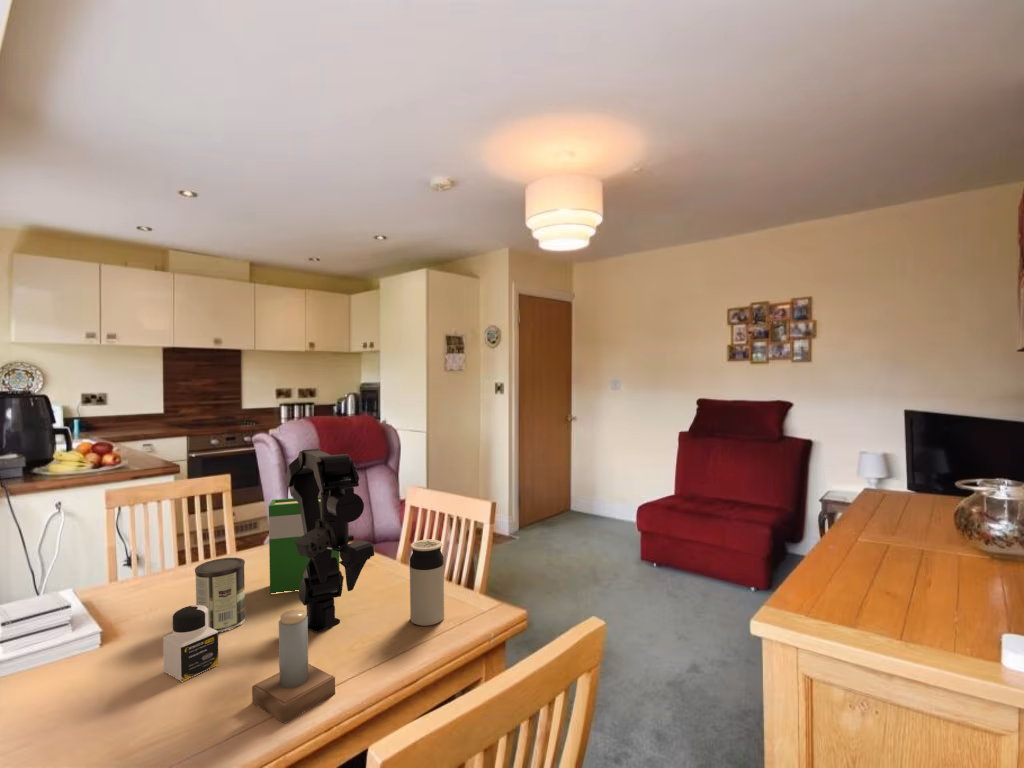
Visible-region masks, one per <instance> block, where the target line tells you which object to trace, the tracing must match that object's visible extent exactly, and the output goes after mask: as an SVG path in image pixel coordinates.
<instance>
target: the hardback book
mask: <svg viewBox="0 0 1024 768" xmlns="http://www.w3.org/2000/svg"><path fill="white" fill-rule="evenodd" d="M318 500H319V505H320V511H321V500H320V496H319V495H318ZM303 535H304V531H303V525H302V518H301V512H300V506H299V503H298V502H297V501H296V500H295V499H294V498H293V497H291V498H280V499H279V498H278V499H271V501H270V503H269V505H268V539H269V540H268V543H269V544H268V546H269V547H268V551H269V554H268V555H269V594H270V593H276V592H284V591H295V590H299V587H300V584H301V582H302V579H303V573H304V570H305V568H306V565H307V563H308V558H307V557H305V556H300V555H299V553H298V550H297V548H296V545H295V541H296V540H297V539H299V538H300V537H302V536H303ZM331 557H335V558H336V559H337V562H338V568H339V571H341V570H340V567H341V566H340V565H341V564H340V563H339V562H340V552H338V551H334V550H332V554H331Z"/></svg>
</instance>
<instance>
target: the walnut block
mask: <svg viewBox="0 0 1024 768" xmlns="http://www.w3.org/2000/svg"><path fill="white" fill-rule="evenodd" d="M251 690H252V691H251V692H252V693H251V694H252V697H251V699H252V700H251V701H252V702H253V703H252V702H251V703H252V704H254V705H255V704H256V705H255V706H257V707H258V706H259V708H260V709H261V708H262V709H261V710H263V711H264V710H265V711H264V712H266V713H267V712H268V714H269V715H270V716H272V717H274V718H275V719H277V720H278V719H279V720H278V721H280V722H281V721H282V722H281V723H283V724H286V723H287V721H288V722H289V721H291V720H292V719H293V720H294V718H296V717H297V716H300V715H301V714H303V713H305V712H306V711H307V710H309V708H310V709H311V708H314V707H315V706H317V705H319V704H320V703H321V702H324V701H325V700H327V699H329V698H331V697H332V696H333V695H335V694H336V676H334V675H331V674H329V673H328V672H326V671H324V670H321V669H320V668H318V667H316V666H314V665H311V664H310V663H308V680H307V682H306V683H304V684H303V685H301V686H298V687H295V688H283V687H281V686H280V674H279V672H277V673H276V674H273V675H272V676H269V677H268V678H265V679H263V680H261V681H260V682H258V683H254V684H253V685H252V686H251ZM304 711H305V712H304ZM302 712H303V713H302ZM285 722H286V723H285Z"/></svg>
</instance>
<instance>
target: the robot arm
mask: <svg viewBox="0 0 1024 768" xmlns="http://www.w3.org/2000/svg"><path fill="white" fill-rule="evenodd" d="M359 481H360V476H359V474H358V470H357V468H356V465H355V463H354V460H353V459H352V458H351V457H350V455H349V454H347V453H345V454H344V453H343V454H342V453H341V454H332V455H331V454H330V453H328V452H324V451H323V450H322V449H321V448H320V449H319V448H312V449H303V450H300V451H299V452H298V455H297V457H296V458H295V459H294V460H293V461H291V463H289V464H288V466H287V470H286V475H285V483H286V484H285V485H286V487H287V488H289V494H290V496H291V498H294V499H295V500H296V501H297V502H298V503H299V506H300V512H301V518H302V525H303V531H304V535H303V536H302V537H300V538H299V539H297V540H296V541H295V545H296V548H297V550H298V553H299V555H300V556H305V557H307V558H308V563H307V565H306V568H305V570H304V573H303V579H302V582H301V584H300V587H299V592H298V598H299V599H298V600H299V601H300V602H301V603H302V605H303V606H304V607H305V606H306V616H307V617H308V631H312V632H314V633H320V632H322V631H324V630H326V629H328V628H330V627H333V626H335V625H337V624H339V623H340V622H341V619H339V618H337V617H336V608H335V598H340V597H342V593H343V586H344V585H343V583H344V578H345V582H346V583H345V584H346V589H347V592H351V591H353V590H354V588H355V586H356V584H357V581H358V579H359V576H360V575H361V572H362V570H363V568H364V567H365V565H366V563H367V561H368V560H371V557H374V556H375V545H374V544H373V543H372V541H371V542H370V541H365V540H362V539H361V540H356V541H354V540H355V539H354V537H355V536H354V535H352V534H350V523H352V522H354V521H357V520H358V519H359V518H360V517H361V516H362V514H363V512H364V510H365V504H364V501H363V498H362V497H361V496H360V495H359V494H357V493H355V488H356V487H359V486H360V483H359ZM319 495H320V500H321V511H320V505H319V500H318V496H319ZM352 541H353V542H352ZM350 542H351V543H350ZM332 550H334V551H338V552H339V559H340V560H339V565H341V566H343V567H344V572H345V576H344V575H343V573H342V571H341V570H340V571H339V568H338V562H337V559H336V558H335V557H331V554H332Z"/></svg>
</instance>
